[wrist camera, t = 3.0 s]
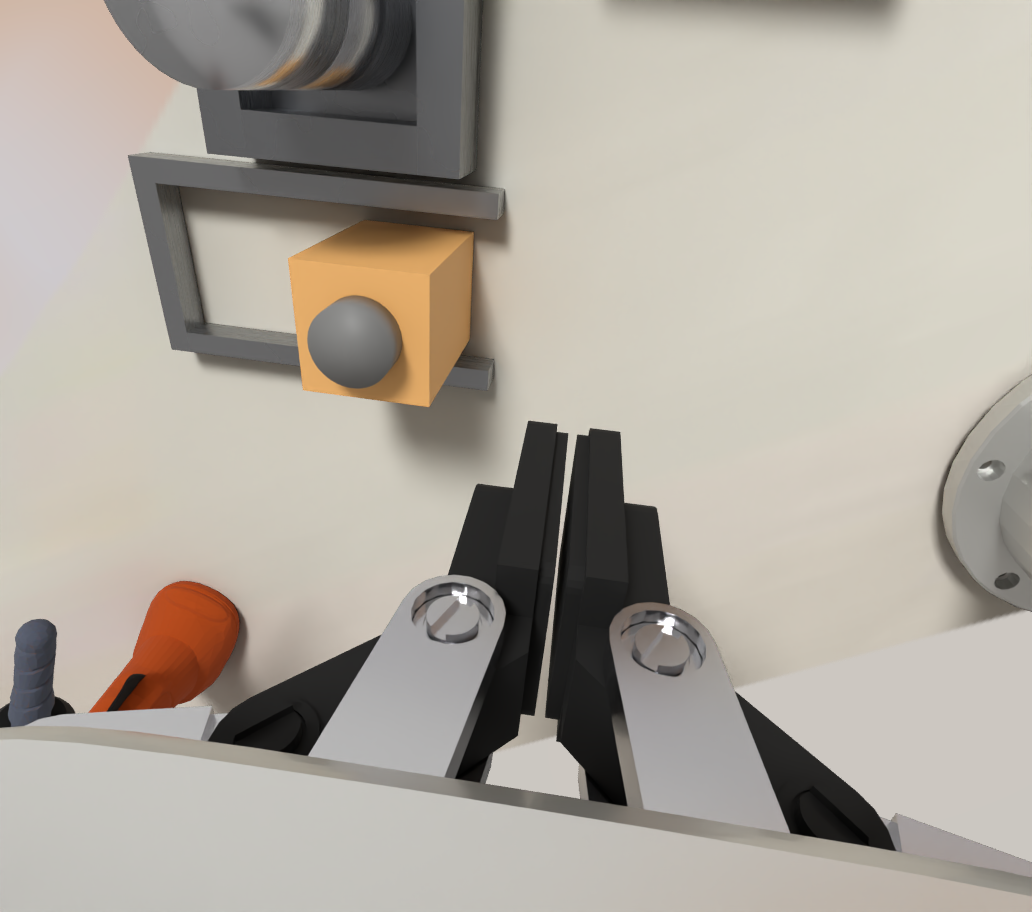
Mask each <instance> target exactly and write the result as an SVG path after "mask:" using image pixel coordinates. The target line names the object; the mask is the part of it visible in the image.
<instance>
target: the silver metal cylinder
mask: <svg viewBox="0 0 1032 912" xmlns="http://www.w3.org/2000/svg"><path fill="white" fill-rule="evenodd" d="M104 1H105V3H106V6H107V8H108V10H109V12H110V13H111V15H112V17H113V18H114V20H115V22H116V24H117V25H118V27H119V28H120V30H121V31H122V32H123V34H124V35H125V37H126V38H127V39H128V40H129V42H130V43H131V44H132V45H133V46H134V48H135V49H136V50H137V51H138V52H139V53H140V54H141V55H142V56H143V57H144V58H145V59H146V60H147V61H148V62H150V63H151V64H152V65H153V66H155V67H156V68H157V69H158V70H160V71H161V72H163V73H164V74H166V75H168V76H169V77H171V78H173V79H175V80H177V81H179V82H181V83H183V84H186V85H189V86H192V87H195V88H200V89H206V90H354V91H359V90H366V89H370V88H373V87H375V86H377V85H379V84H381V83H383V82H384V81H385V80H387V79H388V78H389V77H390V76H391V75H392V74H393V73H394V72H395V71H396V69H397V68H398V67H399V65H400V63H401V62H402V60H403V58H404V56H405V53H406V51H407V48H408V45H409V41H410V36H411V29H412V11H411V3H410V0H104Z"/></svg>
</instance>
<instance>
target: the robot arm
mask: <svg viewBox="0 0 1032 912" xmlns="http://www.w3.org/2000/svg"><path fill="white" fill-rule="evenodd" d="M567 441H568V433H561V432H557V424H551V423H543V422H535V421H528V424H527V429H526V433H525V438H524V443H523V447H522V452H521V456H520V461H519V466H518V470H517V475H516V479H515V484H514V488H507V487H499V486H492V485H484V484H477V485H476V488H475V490H474V493H473V496H472V500H471V503H470V506H469V509H468V512H467V516H466V519H465V522H464V525H463V528H462V532H461V535H460V538H459V541H458V544H457V548H456V551H455V554H454V557H453V560H452V563H451V567H450V570H449V573H448V575H447V576H438V577H435V578H432V579H429V580H426V581H424V582H422V583H421V584H419V585H417V586H416V587H414V588H413V589H412V590H411V591H410V592H409V593H408V594H407V596H406V597H405V598H404V599H403V601H402V602H401V604H400V606H399V607H398V609H397V611H396V612H395V614H394V616H393V617H392V619H391V620H390V622H389V624H388V625H387V627H386V629H385V630H384V632H383V634H382V635H380V636H378V637H376V638H373V639H371V640H369V641H367V642H365V643H363V644H361V645H359V646H357V647H355V648H353V649H351V650H348V651H346V652H344V653H342V654H340V655H338V656H336V657H334V658H332V659H330V660H328V661H326V662H324V663H321V664H319V665H317V666H315V667H313V668H311V669H309V670H307V671H305V672H303V673H301V674H299V675H296V676H294V677H292V678H290V679H288V680H286V681H284V682H282V683H280V684H278V685H276V686H274V687H272V688H269V689H267V690H265V691H263V692H261V693H259V694H257V695H255V696H253V697H251V698H249V699H247V700H246V701H244V702H243V703H241V704H239V705H238V706H236V707H235V708H233V709H232V710H231V711H230V712H229V713H224V714H214V711H213V707H212V706H199V707H182V708H164V709H147V710H129V711H112V712H94V713H77V714H62V715H57V716H52V717H47V718H42V719H39V720H37V721H34V722H32V723H30V724H28V725H25V726H19V727H6V728H0V912H1032V862H1029V861H1026V860H1023V859H1021V858H1018V857H1015V856H1012V855H1010V854H1007V853H1004V852H1001V851H999V850H996V849H993V848H991V847H988V846H985V845H982V844H980V843H977V842H974V841H971V840H969V839H966V838H963V837H960V836H957V835H955V834H952V833H949V832H947V831H944V830H941V829H938V828H936V827H933V826H930V825H927V824H925V823H922V822H919V821H916V820H914V819H911V818H908V817H905V816H902V815H900V814H897V813H896V814H895V816H894V817H893V818H892V820H891V821H890V820H887V819H885V818H882V817H879V815H878V814H877V812H876V811H875V809H874V808H873V807H872V806H871V805H870V804H869V803H868V802H866V801H865V799H864V798H863V797H862V796H861V795H860V794H859V793H858V792H856V791H855V790H854V789H853V788H852V787H850V786H849V785H848V784H847V783H846V782H844V781H843V780H842V779H841V778H839V777H838V776H837V775H836V774H835V773H834V772H832V771H831V770H830V769H829V768H827V767H826V766H825V765H824V764H823V763H821V762H820V761H819V760H818V759H816V758H815V757H814V756H813V755H811V754H810V753H809V752H808V751H807V750H806V749H804V748H803V747H802V746H801V745H799V744H798V743H797V742H796V741H795V740H793V739H792V738H791V737H790V736H789V735H787V734H786V733H785V732H784V731H783V730H781V729H780V728H779V727H778V726H776V725H775V724H774V723H773V722H771V721H770V720H769V719H768V718H767V717H765V716H764V715H763V714H762V713H761V712H759V711H758V710H757V709H756V708H754V707H753V706H752V705H751V704H750V703H749V702H747V701H746V700H745V699H744V698H742V697H741V696H740V695H739V694H738V693H736V692H735V691H734V688H733V686H732V683H731V681H730V678H729V676H728V673H727V670H726V668H725V665H724V663H723V660H722V658H721V655H720V653H719V650H718V647H717V645H716V643H715V641H714V639H713V637H712V636H711V634H710V632H709V631H708V629H707V628H706V627H705V626H704V625H703V624H701V623H700V622H699V621H698V620H697V619H696V618H695V617H693V616H691V615H690V614H688V613H686V612H685V611H683V610H681V609H678V608H676V607H673V606H670V602H669V595H668V587H667V580H666V572H665V565H664V557H663V550H662V542H661V534H660V527H659V519H658V513H657V508H655V507H653V506H645V505H637V504H630V503H624V490H623V472H622V454H621V436H620V432H616V431H608V430H600V429H592V428H590V431H589V436H585V435H577V440H576V447H575V454H574V461H573V468H572V474H571V481H570V488H569V495H568V502H567V508H566V515H565V522H564V529H563V536H562V543H561V549H560V557H559V566H558V577H557V588H556V600H555V611H554V622H553V633H552V645H551V656H550V667H549V678H548V690H547V701H546V713H545V718H551V719H558V725H557V740H556V741H557V742H561V743H562V745H563V746H564V747H565V748H566V749H567V750H568V751H569V752H570V754H571V755H572V756H573V757H574V758H575V759H576V760H577V761H578V763H579V773H578V783H579V791H580V799H577V798H571V797H564V796H558V795H551V794H546V793H539V792H533V791H527V790H521V789H514V788H508V787H502V786H495V785H489V784H485V783H486V780H487V777H488V774H489V771H490V768H491V762H492V756H493V752H494V751H496V750H497V749H499V748H500V747H502V746H503V745H505V744H506V743H508V742H509V741H511V740H512V739H514V738H515V737H517V736H518V731H519V723H520V715H521V714H525V715H532V716H534V715H535V708H536V701H537V694H538V687H539V680H540V673H541V667H542V660H543V653H544V646H545V639H546V632H547V625H548V618H549V611H550V604H551V597H552V590H553V583H554V575H555V567H556V557H557V547H558V536H559V526H560V515H561V505H562V494H563V483H564V473H565V462H566V452H567ZM942 517H943V522H944V527H945V533H946V537H947V539H948V541H949V543H950V545H951V547H952V549H953V551H954V553H955V555H956V556H957V558H958V559H959V560H960V562H961V563H962V564H963V566H964V567H965V568H966V569H967V571H968V572H969V573H970V575H971V576H972V577H973V579H974V580H975V581H977V582H978V583H979V584H980V585H981V586H982V587H983V588H984V589H985V590H987V591H988V592H989V593H991V594H992V595H994V596H996V597H998V598H1000V599H1002V600H1004V601H1005V602H1007V603H1009V604H1011V605H1013V606H1015V607H1018V608H1021V609H1024V610H1028V611H1031V612H1032V375H1031V376H1029V377H1028V378H1026V379H1025V380H1023V381H1022V382H1021V383H1019V384H1018V385H1017V386H1016V387H1015V388H1014V389H1013V390H1011V391H1010V392H1009V393H1008V394H1007V395H1006V396H1005V397H1003V398H1002V399H1001V400H1000V401H999V402H998V403H997V404H995V405H994V406H993V407H992V408H991V409H990V411H989V412H988V413H987V414H986V415H985V416H984V418H983V419H982V420H981V421H980V422H979V423H978V425H977V426H976V427H975V428H974V429H973V431H972V432H971V433H970V434H969V436H968V437H967V439H966V441H965V442H964V444H963V446H962V448H961V449H960V451H959V453H958V454H957V456H956V458H955V459H954V461H953V464H952V467H951V470H950V472H949V475H948V478H947V481H946V484H945V487H944V495H943V507H942Z"/></svg>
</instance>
